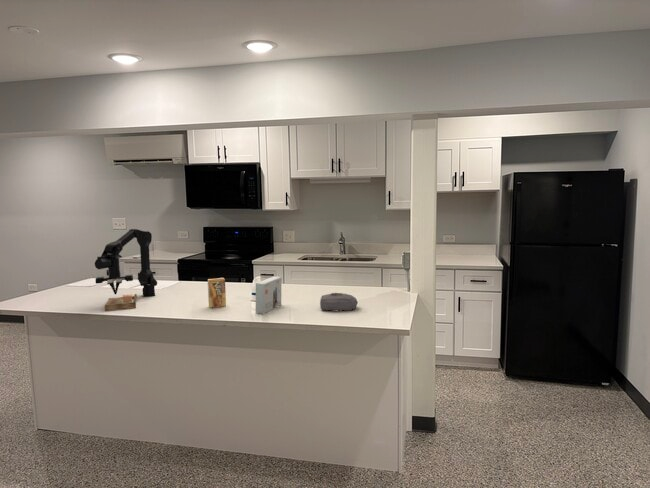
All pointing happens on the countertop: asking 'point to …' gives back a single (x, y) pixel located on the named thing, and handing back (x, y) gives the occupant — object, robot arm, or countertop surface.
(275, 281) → the skincare box
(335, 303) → the small grey backpack
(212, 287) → the candy box
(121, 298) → the trap board
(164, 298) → the countertop surface
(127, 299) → the block
